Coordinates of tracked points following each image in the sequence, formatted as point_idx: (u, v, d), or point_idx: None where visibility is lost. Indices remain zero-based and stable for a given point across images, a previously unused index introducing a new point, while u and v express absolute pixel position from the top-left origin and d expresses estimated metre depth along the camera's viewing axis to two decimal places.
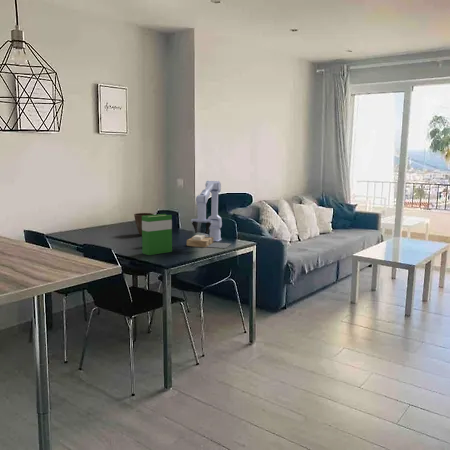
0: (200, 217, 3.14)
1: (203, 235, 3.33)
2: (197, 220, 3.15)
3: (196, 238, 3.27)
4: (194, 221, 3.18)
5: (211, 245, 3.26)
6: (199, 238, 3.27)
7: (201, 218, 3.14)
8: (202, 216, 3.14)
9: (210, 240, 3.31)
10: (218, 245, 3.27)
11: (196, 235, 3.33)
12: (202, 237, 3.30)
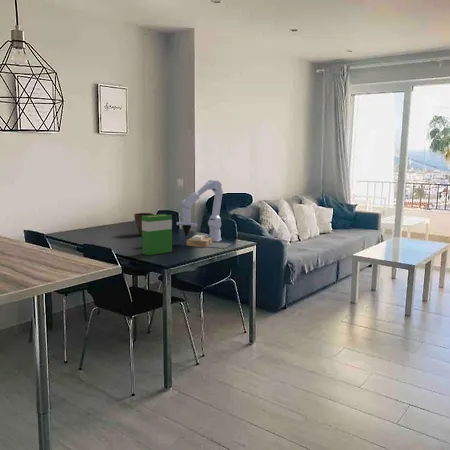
0: (185, 220, 3.29)
1: (203, 235, 3.33)
2: (182, 223, 3.31)
3: (196, 238, 3.27)
4: (179, 224, 3.34)
5: (211, 245, 3.26)
6: (199, 238, 3.27)
7: (186, 221, 3.30)
8: (187, 219, 3.29)
9: (210, 240, 3.31)
10: (218, 245, 3.27)
11: (196, 235, 3.33)
12: (202, 237, 3.30)
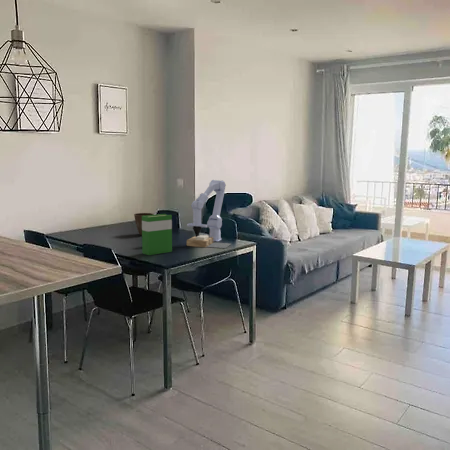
0: (196, 222, 3.27)
1: (207, 235, 3.32)
2: (193, 225, 3.29)
3: (200, 238, 3.26)
4: (190, 226, 3.32)
5: (211, 245, 3.26)
6: (203, 238, 3.26)
7: (196, 223, 3.27)
8: (197, 221, 3.27)
9: (210, 240, 3.31)
10: (218, 245, 3.27)
11: (200, 235, 3.32)
12: (206, 237, 3.29)
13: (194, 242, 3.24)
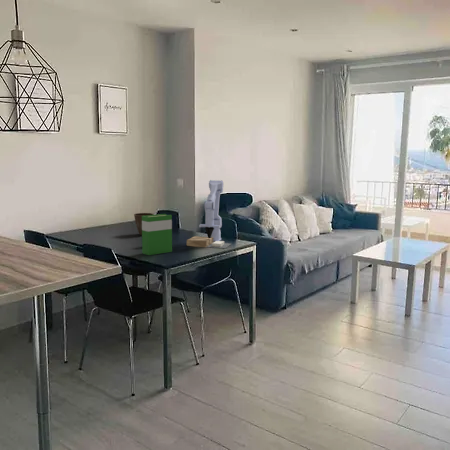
0: (208, 222, 3.25)
1: None
2: (205, 225, 3.26)
3: (216, 244, 3.23)
4: (202, 226, 3.29)
5: (211, 245, 3.26)
6: (213, 244, 3.24)
7: (209, 223, 3.25)
8: (210, 221, 3.25)
9: (210, 240, 3.31)
10: None
11: (221, 245, 3.28)
12: None
13: (194, 242, 3.24)
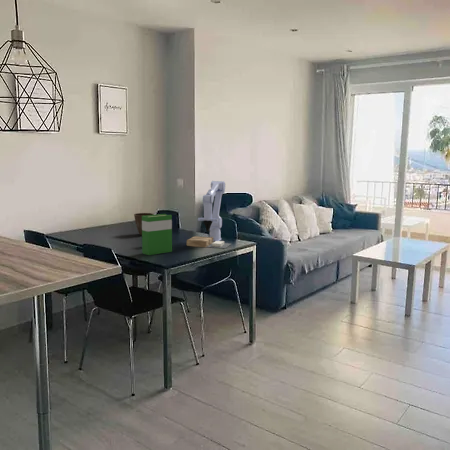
0: (206, 216, 3.26)
1: None
2: (204, 219, 3.27)
3: (216, 244, 3.23)
4: (200, 220, 3.30)
5: (211, 245, 3.26)
6: (213, 244, 3.24)
7: (207, 217, 3.26)
8: (208, 215, 3.26)
9: (210, 240, 3.31)
10: None
11: (221, 245, 3.28)
12: None
13: (194, 242, 3.24)
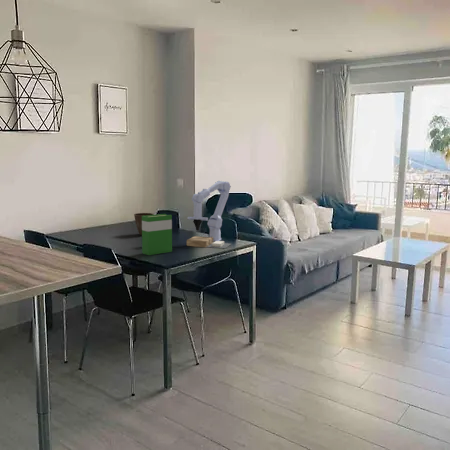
0: (196, 215, 3.30)
1: None
2: (193, 218, 3.31)
3: (216, 244, 3.23)
4: (190, 219, 3.34)
5: (211, 245, 3.26)
6: (213, 244, 3.24)
7: (197, 216, 3.30)
8: (198, 214, 3.30)
9: (210, 240, 3.31)
10: None
11: (221, 245, 3.28)
12: None
13: (194, 242, 3.24)
